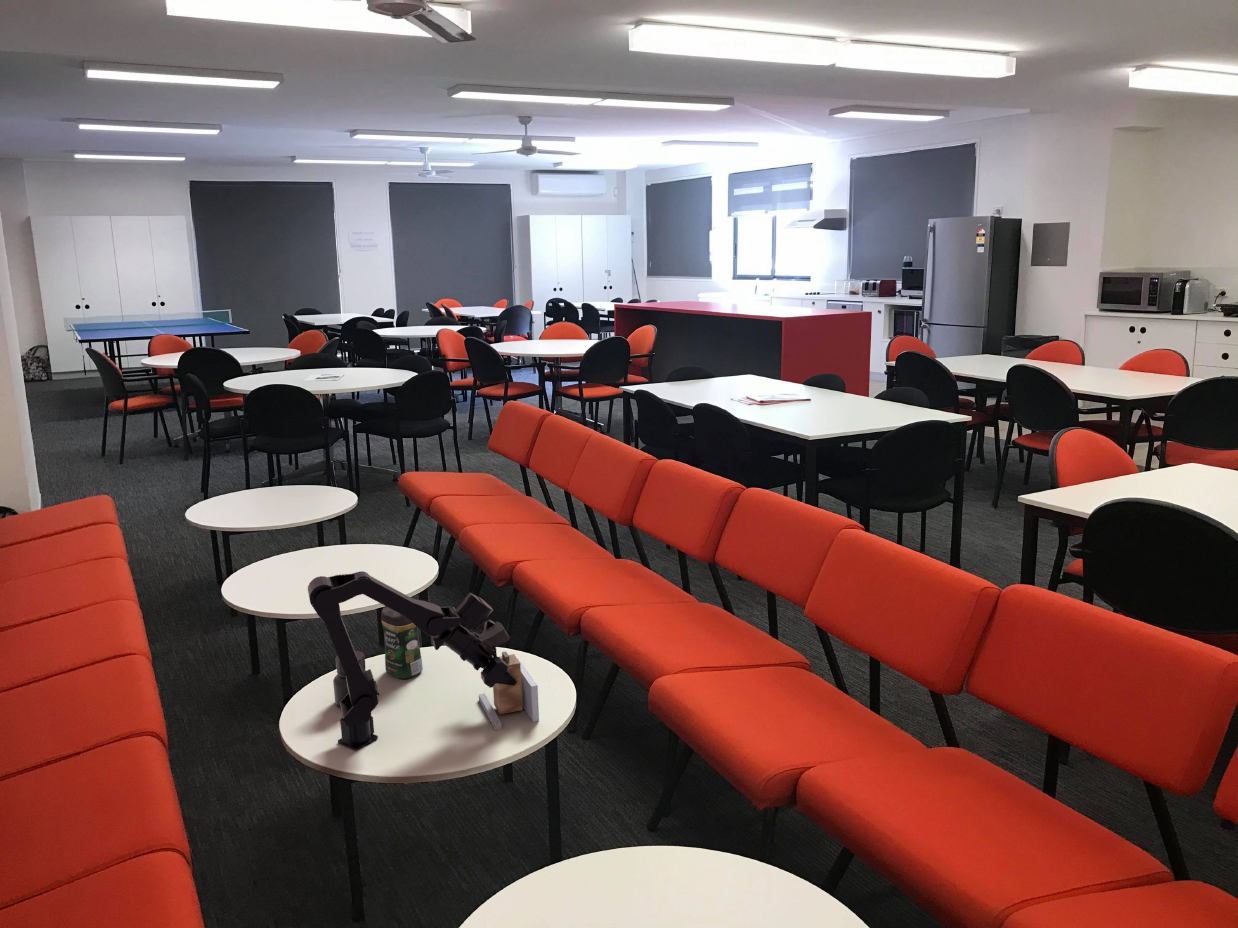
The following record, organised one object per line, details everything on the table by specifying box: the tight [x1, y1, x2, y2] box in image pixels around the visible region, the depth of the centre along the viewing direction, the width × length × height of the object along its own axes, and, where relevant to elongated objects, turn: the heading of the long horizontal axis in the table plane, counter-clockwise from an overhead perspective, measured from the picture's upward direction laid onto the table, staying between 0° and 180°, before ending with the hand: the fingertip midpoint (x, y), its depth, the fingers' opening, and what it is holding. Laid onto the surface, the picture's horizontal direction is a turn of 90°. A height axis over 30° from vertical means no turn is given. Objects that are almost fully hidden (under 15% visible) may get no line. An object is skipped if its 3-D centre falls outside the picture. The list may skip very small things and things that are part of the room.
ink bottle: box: [332, 650, 367, 709], centre depth 228 cm, size 10×9×12 cm
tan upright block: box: [492, 651, 523, 715], centre depth 221 cm, size 6×6×14 cm
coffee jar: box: [380, 605, 424, 680], centre depth 243 cm, size 10×8×19 cm
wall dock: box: [478, 658, 540, 731], centre depth 222 cm, size 10×16×9 cm, turn 22°
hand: (512, 678), depth 222 cm, fingers closed on tan upright block, 5 cm apart
